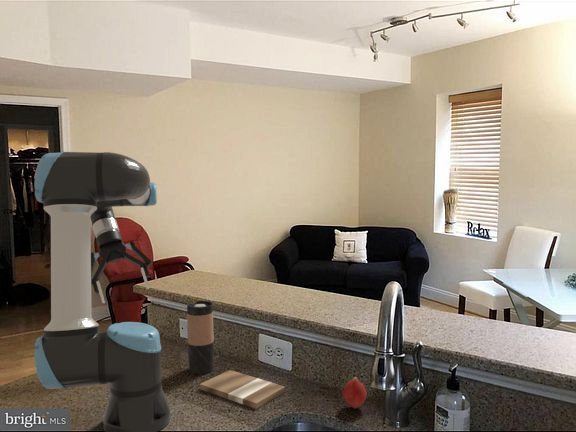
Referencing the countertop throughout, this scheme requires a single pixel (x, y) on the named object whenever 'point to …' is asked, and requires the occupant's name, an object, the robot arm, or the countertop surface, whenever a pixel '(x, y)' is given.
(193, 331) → the travel mug
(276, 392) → the wooden cutting board
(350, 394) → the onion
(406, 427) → the countertop surface
